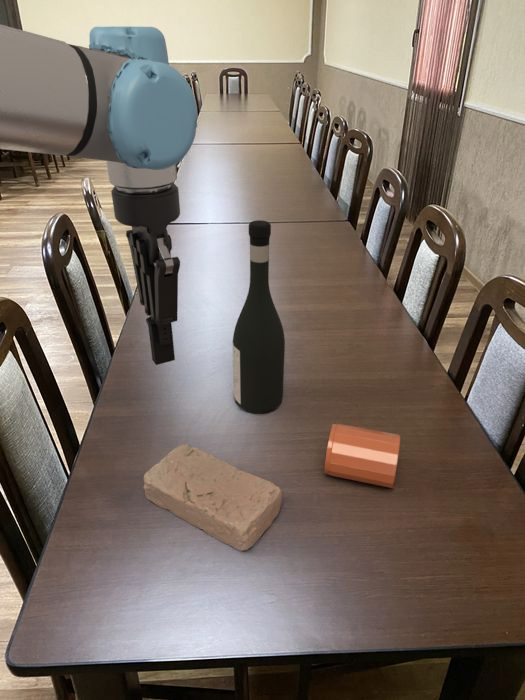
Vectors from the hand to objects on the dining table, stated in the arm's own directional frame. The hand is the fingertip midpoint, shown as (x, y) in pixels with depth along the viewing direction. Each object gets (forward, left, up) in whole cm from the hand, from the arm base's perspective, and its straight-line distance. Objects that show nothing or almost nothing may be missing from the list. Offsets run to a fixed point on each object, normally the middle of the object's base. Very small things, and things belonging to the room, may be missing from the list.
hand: (163, 359), depth 73 cm
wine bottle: (+16, +2, -14) cm, 21 cm away
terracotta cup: (+17, -16, -10) cm, 26 cm away
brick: (0, -15, -14) cm, 21 cm away
